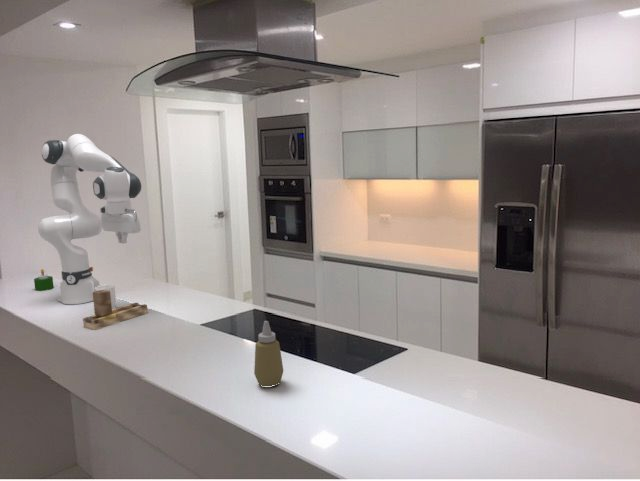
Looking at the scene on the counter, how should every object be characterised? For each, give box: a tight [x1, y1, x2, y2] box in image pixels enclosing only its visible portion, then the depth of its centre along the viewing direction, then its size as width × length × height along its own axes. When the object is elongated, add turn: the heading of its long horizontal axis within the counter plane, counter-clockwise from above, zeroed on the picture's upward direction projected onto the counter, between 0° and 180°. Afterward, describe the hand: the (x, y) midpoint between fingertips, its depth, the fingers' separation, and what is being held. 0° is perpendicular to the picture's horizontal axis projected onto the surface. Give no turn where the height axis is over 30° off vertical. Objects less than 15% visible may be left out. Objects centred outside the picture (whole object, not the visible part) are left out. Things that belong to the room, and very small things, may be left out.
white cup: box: [95, 284, 117, 309], centre depth 229 cm, size 8×8×10 cm
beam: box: [82, 302, 149, 331], centre depth 215 cm, size 24×7×4 cm, turn 145°
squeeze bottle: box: [253, 320, 284, 386], centre depth 149 cm, size 8×8×18 cm
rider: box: [93, 290, 112, 318], centre depth 209 cm, size 4×4×10 cm
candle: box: [33, 268, 55, 292], centre depth 270 cm, size 8×8×10 cm
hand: (122, 243), depth 217 cm, fingers closed
